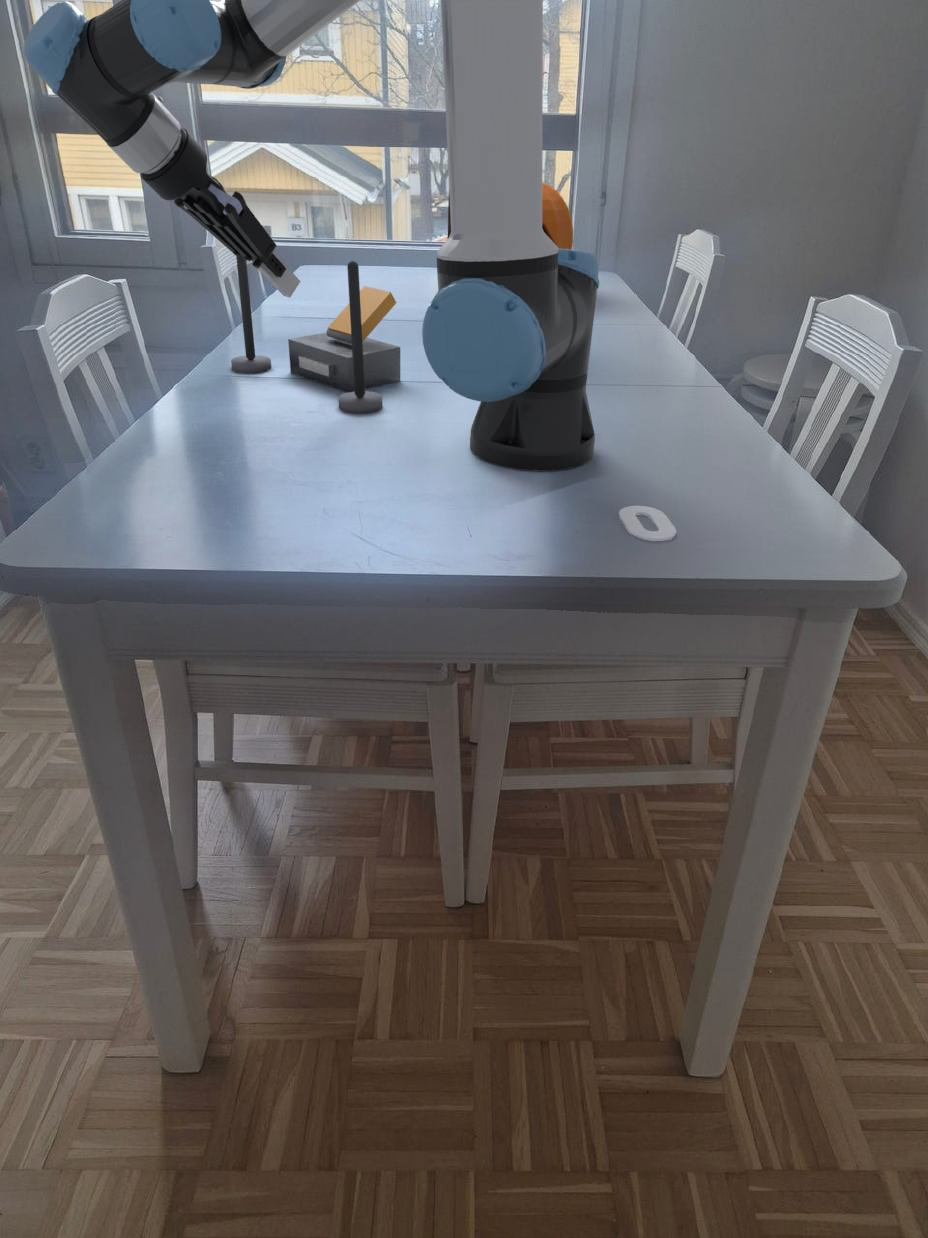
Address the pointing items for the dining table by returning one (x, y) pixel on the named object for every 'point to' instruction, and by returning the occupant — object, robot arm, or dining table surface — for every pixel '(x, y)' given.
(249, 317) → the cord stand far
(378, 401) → the stand
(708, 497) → the dining table surface
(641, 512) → the chain link
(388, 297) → the orange rectangular prism
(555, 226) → the jack-o'-lantern
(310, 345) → the block
